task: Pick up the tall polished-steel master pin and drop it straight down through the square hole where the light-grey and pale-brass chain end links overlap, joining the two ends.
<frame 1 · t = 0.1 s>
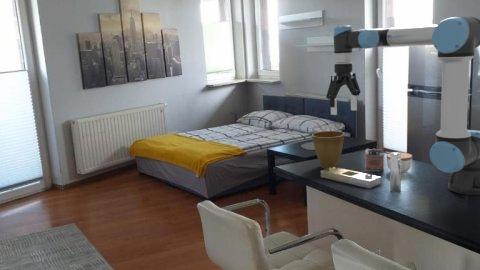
hand: (344, 112, 210), 28 cm above the kitchen counter, fingers open, 13 cm apart
lidded jar: (399, 172, 214), on the kitchen counter
lighter: (374, 170, 219), on the kitchen counter
plant pot: (328, 167, 229), on the kitchen counter
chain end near: (350, 180, 207), on the kitchen counter
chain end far: (350, 180, 207), on the kitchen counter
master pin: (395, 190, 190), on the kitchen counter
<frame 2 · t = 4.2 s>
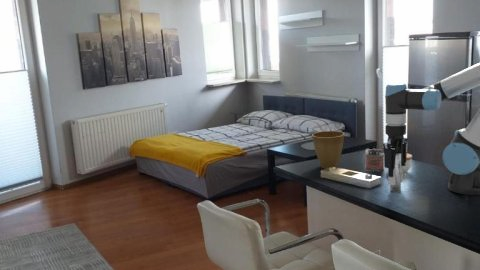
hand: (395, 182, 189), 3 cm above the kitchen counter, fingers closed on master pin, 4 cm apart
master pin: (395, 190, 190), on the kitchen counter, touching gripper
everything else where it was.
when the fingers open (5 cm above the kitchen counter, at t = 10.0 s): master pin stays where it is, on the kitchen counter.
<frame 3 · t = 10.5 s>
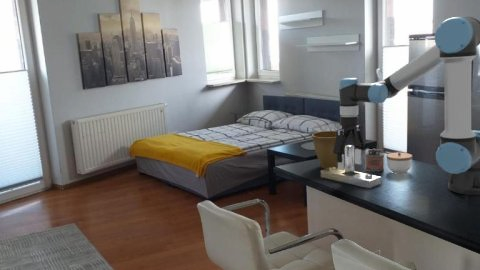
hand: (349, 166, 205), 6 cm above the kitchen counter, fingers open, 11 cm apart
master pin: (349, 180, 207), on the kitchen counter
everything else where it was.
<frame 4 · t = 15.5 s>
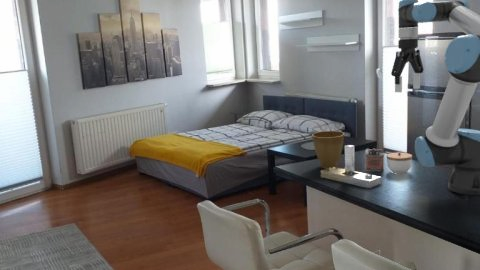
hand: (407, 90, 202), 37 cm above the kitchen counter, fingers open, 13 cm apart
nothing on the kitchen counter moved.
at the end: master pin 0.0 cm off-centre on the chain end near, point 0.0 cm above the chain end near's base; master pin tilted 0°; the gripper is holding nothing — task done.
